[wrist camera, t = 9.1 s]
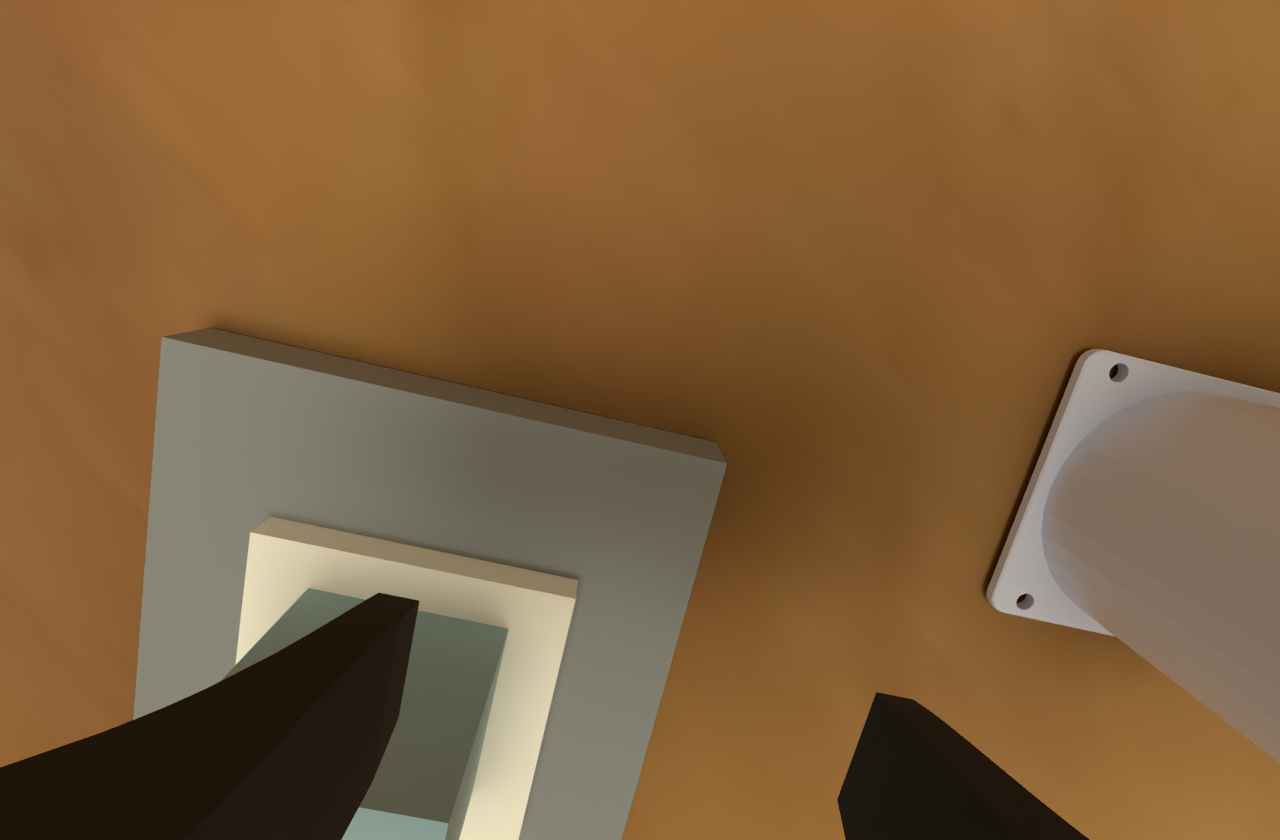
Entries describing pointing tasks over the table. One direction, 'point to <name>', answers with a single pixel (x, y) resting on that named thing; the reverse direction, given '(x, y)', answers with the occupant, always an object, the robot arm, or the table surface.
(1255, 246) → the table surface
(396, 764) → the block
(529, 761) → the base board
